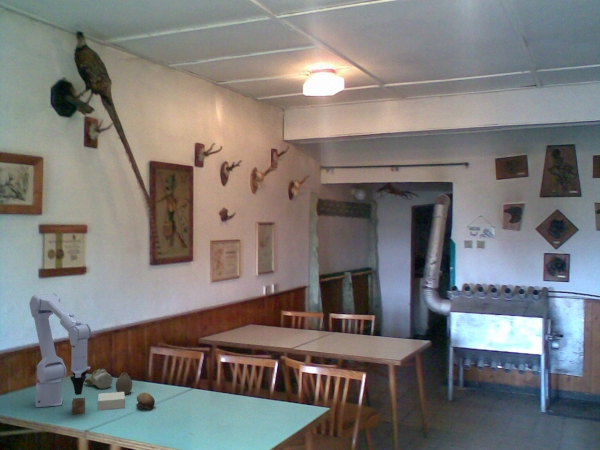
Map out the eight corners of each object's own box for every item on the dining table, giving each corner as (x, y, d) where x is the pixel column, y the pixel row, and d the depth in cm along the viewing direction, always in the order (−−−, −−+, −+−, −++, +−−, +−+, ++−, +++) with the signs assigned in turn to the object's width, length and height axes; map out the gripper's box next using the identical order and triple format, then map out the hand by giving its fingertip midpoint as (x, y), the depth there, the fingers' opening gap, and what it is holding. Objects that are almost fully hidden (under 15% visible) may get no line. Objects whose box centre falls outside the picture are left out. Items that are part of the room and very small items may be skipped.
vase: (129, 396, 245) (129, 375, 245) (113, 395, 245) (113, 375, 245) (134, 391, 252) (134, 371, 252) (118, 391, 252) (118, 370, 252)
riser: (98, 411, 227) (98, 400, 227) (98, 403, 236) (98, 393, 236) (124, 408, 230) (124, 398, 230) (124, 401, 239) (124, 391, 239)
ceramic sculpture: (94, 371, 250) (82, 366, 262) (94, 391, 250) (82, 386, 261) (118, 368, 257) (105, 363, 269) (118, 387, 257) (105, 382, 268)
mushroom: (128, 400, 229) (138, 387, 229) (141, 403, 236) (151, 390, 236) (138, 414, 225) (148, 401, 225) (151, 416, 231) (161, 403, 231)
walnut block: (71, 415, 221) (72, 402, 221) (72, 411, 225) (72, 398, 225) (84, 414, 222) (84, 401, 222) (85, 410, 226) (85, 397, 226)
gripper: (89, 360, 218) (89, 396, 218) (91, 351, 232) (90, 385, 232) (69, 361, 216) (69, 397, 216) (72, 352, 229) (71, 386, 230)
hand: (78, 391), depth 224 cm, fingers open, 7 cm apart
